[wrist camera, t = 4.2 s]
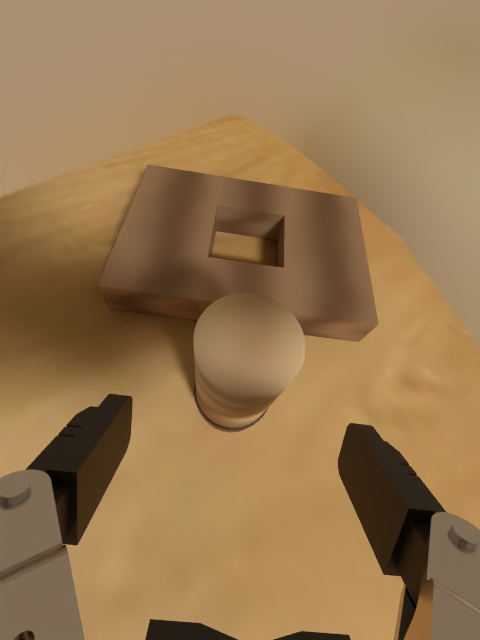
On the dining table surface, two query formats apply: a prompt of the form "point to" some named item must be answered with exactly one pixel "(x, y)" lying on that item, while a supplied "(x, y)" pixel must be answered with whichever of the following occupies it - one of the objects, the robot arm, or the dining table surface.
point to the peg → (244, 358)
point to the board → (235, 276)
